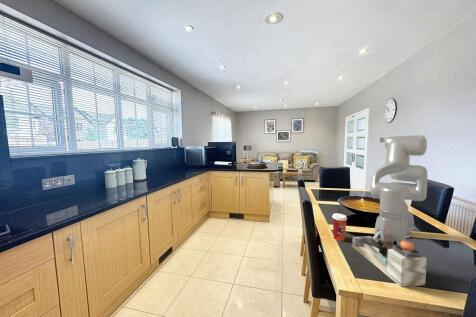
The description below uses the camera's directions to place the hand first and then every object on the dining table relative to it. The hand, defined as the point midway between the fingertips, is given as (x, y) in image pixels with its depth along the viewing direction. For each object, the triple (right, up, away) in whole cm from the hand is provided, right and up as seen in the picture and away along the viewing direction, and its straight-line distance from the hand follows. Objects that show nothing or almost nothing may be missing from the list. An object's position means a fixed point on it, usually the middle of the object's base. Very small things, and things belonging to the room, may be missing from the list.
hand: (388, 253), depth 84 cm
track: (0, -6, +3) cm, 7 cm away
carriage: (0, -4, 0) cm, 4 cm away
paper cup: (-8, -5, +26) cm, 27 cm away
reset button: (0, +7, -9) cm, 11 cm away
